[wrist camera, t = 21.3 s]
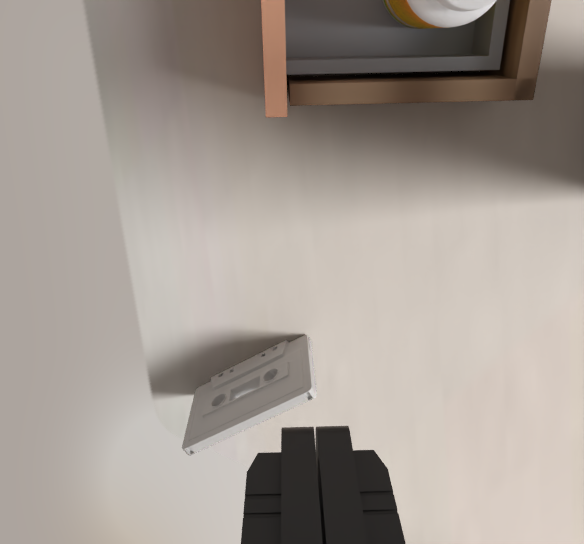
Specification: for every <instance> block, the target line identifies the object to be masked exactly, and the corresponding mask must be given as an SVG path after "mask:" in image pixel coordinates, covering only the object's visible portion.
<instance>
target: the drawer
mask: <svg viewBox="0 0 584 544" xmlns="http://www.w3.org/2000/svg"><path fill="white" fill-rule="evenodd" d="M509 4H510V0H496V2H495V3H494V4H493V6H492V7H491V8H490V9H489V10H488V11H487V12H485V13H484V14H483V15H482V16H480V17H479V18H477V19H476V20H474V21H472V22H470V23H467V24H465V25H461V26H456V27H450V28H425V29H416V28H410V27H407V26H404V25H402V24H400V23H399V22H397V21H396V20H395V19H394V18H393V17H392V16H391V15H390V14H389V13H388V11H387V9H386V8H385V5H384V3H383V0H261V13H262V37H263V61H264V85H265V109H266V117H287V80H286V75H298V74H341V73H384V72H427V71H470V70H500V63H501V57H502V50H503V43H504V37H505V30H506V24H507V17H508V10H509Z"/></svg>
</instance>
